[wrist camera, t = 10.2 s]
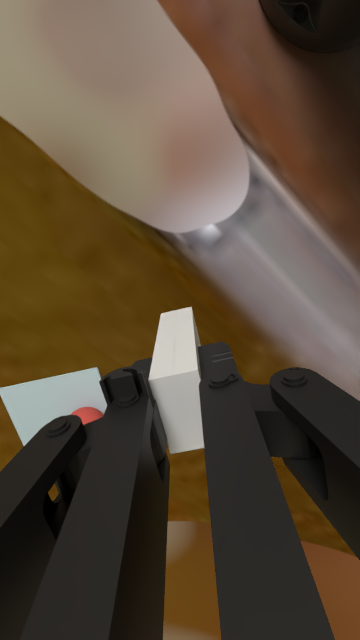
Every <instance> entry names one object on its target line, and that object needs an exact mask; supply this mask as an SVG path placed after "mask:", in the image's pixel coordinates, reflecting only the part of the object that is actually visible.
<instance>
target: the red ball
mask: <svg viewBox="0 0 360 640" xmlns="http://www.w3.org/2000/svg"><path fill="white" fill-rule="evenodd" d="M70 415H77V416H79V417H80V418H81V420H82V423H83V425H84V424H87V423H89V422H92V421H94V420H97V419H99V418H101V417H103V415H104V414H103V413H102V412H101V411H99V410H98V409H96V408H93V407H82V408H79V409H77V410H75V411H74V412H72V413H71V414H70Z"/></svg>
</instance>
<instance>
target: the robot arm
mask: <svg viewBox="0 0 360 640" xmlns="http://www.w3.org/2000/svg"><path fill="white" fill-rule="evenodd" d="M260 2H261V5H262V7H263V9H264V12H265V13H266V15H267V17H268V19H269V20H270V22H271V23H272V25H273V26H274V27H275V28H276V29H277V31H278V32H279V33H280V34H281V35H282V36H283V37H285V38H286V39H287V40H289V41H290V42H292V43H293V44H295V45H297V46H299V47H301V48H304V49H307V50H310V51H315V52H335V51H340V50H344V49H347V48H350V47H352V46H355V45H357V44H359V43H360V0H260ZM99 384H100V386H101V389H102V392H103V395H104V398H105V401H106V403H107V407H106V410H105V413H104V415H103V417H101V418H99V419H97V420H94V421H92V422H89V423H87V424H84V425H83V423H82V420H81V418H80V417H79V416H77V415H66V416H60V417H59V418H58V417H57V418H55V419H53V420H52V421H51V422H49V423H47V424H46V425H45V426H43V427H42V428H41V429H40V430H39V431H38V432H37V433H36V434H35V435H34V436H33V437H32V438H31V440H30V441H29V442H28V443H27V444H26V445H25V446H24V447H23V448H22V449H21V450H20V451H19V452H18V453H17V455H16V456H15V457H14V458H13V459H12V460H11V461H10V462H9V463H8V464H7V465H6V466H5V467H4V468H3V470H2V471H1V472H0V640H163V617H164V594H165V570H166V568H165V567H166V544H167V522H168V498H169V474H170V464H169V460H168V457H167V453H166V443H167V444H168V448H169V451H170V454H173V453H178V452H183V451H189V450H194V449H199V448H204V451H205V462H206V473H207V484H208V495H209V506H210V517H211V528H212V539H213V551H214V562H215V572H216V584H217V595H218V605H219V616H220V628H221V639H222V640H335V638H334V636H333V633H332V630H331V627H330V624H329V622H328V619H327V616H326V613H325V610H324V607H323V604H322V602H321V599H320V596H319V593H318V590H317V587H316V584H315V582H314V579H313V576H312V573H311V570H310V567H309V565H308V562H307V559H306V556H305V553H304V550H303V548H302V545H301V542H300V539H299V536H298V533H297V531H296V528H295V525H294V522H293V519H292V516H291V514H290V511H289V508H288V505H287V502H286V499H285V497H284V494H283V491H282V488H281V485H280V482H279V480H278V477H277V474H276V471H275V468H274V466H273V463H272V460H271V457H282V459H283V461H284V463H285V465H286V466H287V468H288V469H289V470H290V471H291V473H292V474H293V475H294V477H295V478H296V479H297V480H298V482H299V483H300V484H301V486H302V487H303V488H304V489H305V491H306V492H307V493H308V495H309V496H310V497H311V498H312V500H313V501H314V502H315V503H316V505H317V506H318V507H319V509H320V510H321V511H322V512H323V514H324V515H325V516H326V518H327V519H328V520H329V521H330V523H331V524H332V525H333V526H334V528H335V529H336V530H337V532H338V533H339V534H340V535H341V537H342V538H343V539H344V541H345V542H346V543H347V544H348V546H349V547H350V548H351V550H352V551H353V552H354V553H355V555H356V556H357V557H358V558H359V560H360V401H358V400H357V399H355V398H354V397H352V396H351V395H349V394H348V393H346V392H345V391H343V390H342V389H340V388H339V387H337V386H336V385H334V384H333V383H331V382H330V381H328V380H327V379H325V378H324V377H322V376H321V375H319V374H318V373H316V372H314V371H312V370H310V369H305V368H299V367H295V368H294V367H293V368H288V369H284V370H281V371H279V372H277V373H275V374H274V375H273V376H272V377H271V378H270V385H259V384H251V383H248V382H246V381H244V380H243V378H242V376H241V375H240V374H239V373H238V370H237V367H236V364H235V361H234V358H233V355H232V353H231V350H230V347H229V345H227V344H226V343H224V342H218V343H213V344H208V345H204V346H201V345H200V341H199V337H198V332H197V328H196V324H195V319H194V315H193V311H192V307H188V308H184V309H179V310H175V311H170V312H166V313H162V314H161V317H160V322H159V328H158V333H157V338H156V343H155V348H154V354H153V357H152V358H148V359H143V360H138V361H136V362H135V363H134V364H133V365H132V366H131V367H123V368H120V369H117V370H114V371H112V372H110V373H108V374H107V375H105V376H104V377H103V378H102V379H101V380H100V381H99ZM270 456H271V457H270ZM54 483H55V485H56V488H57V490H58V492H59V494H58V496H57V497H56V499H55V500H54V501H52V500H51V499H50V497H49V495H48V491H49V490H50V489H51V487H52V486H53V484H54Z"/></svg>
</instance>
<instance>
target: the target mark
mask: <svg viewBox="0 0 360 640" xmlns="http://www.w3.org/2000/svg"><path fill="white" fill-rule="evenodd" d="M100 380H101V376H100V373H99V370H98V367H96V368H91V369H86V370H82V371H77V372H73V373H68V374H63V375H59V376H54V377H49V378H45V379H40V380H35V381H31V382H26V383H21V384H17V385H12V386H7V387H3V388H0V396H1V398H2V400H3V402H4V404H5V406H6V408H7V411H8V413H9V415H10V417H11V419H12V421H13V424H14V426H15V428H16V430H17V432H18V434H19V437H20V439H21V441H22V443H23V445H24V446H25V445H26V444H27V443H28V442H29V441H30V440H31V438H32V437H33V436H34V435H35V434H36V433H37V432H38V431H39V430H40V429H41V428H42V427H43V426H45V425H46V424H47V423H49V422H51V421H52V420H53V419H55V418H57V417H58V418H59V417H60V416H66V415H70V414H71V413H72V412H74V411H75V410H77V409H79V408H82V407H93V408H96V409H98V410H99V411H101V412H102V413H103V414H104V413H105V410H106V407H107V403H106V401H105V398H104V395H103V392H102V389H101V386H100V384H99V381H100Z"/></svg>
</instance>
